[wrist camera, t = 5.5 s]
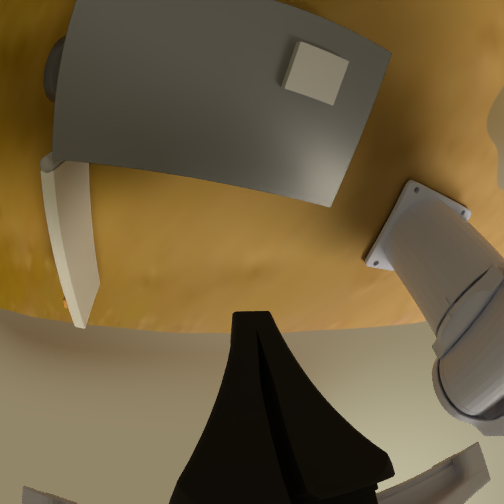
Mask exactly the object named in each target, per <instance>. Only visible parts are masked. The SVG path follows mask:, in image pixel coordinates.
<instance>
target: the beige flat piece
mask: <svg viewBox="0 0 504 504" xmlns="http://www.w3.org/2000/svg"><path fill="white" fill-rule="evenodd" d="M40 167H41V169H42V170H41V171H40V172H41V182H42V191H43V199H44V206H45V213H46V219H47V225H48V230H49V236H50V240H51V245H52V250H53V254H54V258H55V263H56V267H57V270H58V274H59V278H60V282H61V285H62V289H63V292H64V295H65V296H64V299H63V302H64V305H65V308H69V311H70V314H71V317H72V320H73V322H74V325H75V327H79V328H84V329H85V327H86V324H87V321H88V318H89V314H90V311H91V308H92V305H93V303H94V300H95V297H96V294H97V291H98V288H99V286H100V280H99V274H98V268H97V261H96V254H95V246H94V238H93V228H92V217H91V204H90V183H89V163H85V162H75V161H64V160H52V151H51V152H50V153H49V154H47V155H46V156H44V157H43V158H42V159H41V161H40Z"/></svg>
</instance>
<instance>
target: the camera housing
mask: <svg viewBox="0 0 504 504" xmlns="http://www.w3.org/2000/svg"><path fill="white" fill-rule="evenodd" d="M391 55H392V53H391V52H390V51H388V50H386V49H385V48H383V47H381V46H379V45H378V44H376V43H374V42H372V41H370V40H369V39H367V38H365V37H363V36H361V35H359V34H357V33H355V32H353V31H351V30H349V29H347V28H345V27H343V26H341V25H338V24H336V23H334V22H332V21H329V20H327V19H325V18H322V17H320V16H317V15H315V14H312V13H310V12H307V11H305V10H302V9H299V8H296V7H293V6H290V5H287V4H284V3H281V2H278V1H275V0H76V3H75V6H74V10H73V13H72V16H71V20H70V23H69V27H68V31H67V35H66V36H64V37H62V38H61V39H60V40H58V42H57V43H56V44H55V45H54V47H53V48H52V50H51V52H50V54H49V57H48V59H47V62H46V66H45V71H44V88H45V93H46V95H47V97H48V99H49V100H50V101H51V102H54V103H55V108H54V120H53V139H52V160H64V161H75V162H85V163H94V164H103V165H111V166H119V167H127V168H134V169H141V170H148V171H155V172H161V173H168V174H174V175H180V176H186V177H191V178H197V179H203V180H208V181H214V182H219V183H224V184H229V185H234V186H239V187H244V188H249V189H254V190H258V191H263V192H267V193H272V194H276V195H281V196H285V197H289V198H294V199H298V200H302V201H306V202H310V203H314V204H318V205H322V206H326V207H331V205H332V203H333V200H334V198H335V196H336V194H337V191H338V189H339V187H340V185H341V182H342V180H343V178H344V175H345V173H346V171H347V168H348V166H349V164H350V161H351V159H352V157H353V154H354V152H355V149H356V147H357V145H358V142H359V140H360V137H361V135H362V132H363V130H364V127H365V125H366V122H367V120H368V117H369V115H370V112H371V109H372V107H373V104H374V102H375V99H376V96H377V94H378V91H379V88H380V86H381V83H382V80H383V77H384V75H385V72H386V69H387V66H388V63H389V60H390V57H391Z"/></svg>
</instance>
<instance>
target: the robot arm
mask: <svg viewBox="0 0 504 504" xmlns="http://www.w3.org/2000/svg"><path fill="white" fill-rule="evenodd" d="M416 187H417V188H416ZM415 188H416V190H415ZM470 216H471V211H470V210H469V209H467V208H466V207H464V206H462V205H460V204H459V203H457V202H455V201H453V200H451V199H449V198H448V197H446V196H444V195H442V194H440V193H438V192H436V191H434V190H432V189H430V188H428V187H426V186H424V185H422V184H420V183H418V182H416V181H414V180H409V181H408V182H407V183H406V185H405V187H404V189H403V191H402V193H401V195H400V197H399V199H398V201H397V203H396V205H395V207H394V209H393V210H392V212H391V214H390V216H389V218H388V220H387V222H386V224H385V225H384V227H383V229H382V231H381V233H380V234H379V236H378V238H377V240H376V242H375V243H374V245H373V247H372V249H371V250H370V252H369V254H368V255H367V257H366V259H365V264H366V265H367V266H368V267H373V268H379V269H385V270H391V271H395V272H396V273H397V275H398V276H399V278H400V279H401V281H402V282H403V284H404V285H405V287H406V288H407V290H408V291H409V293H410V294H411V296H412V297H413V299H414V300H415V302H416V304H417V305H418V307H419V308H420V310H421V312H422V313H423V315H424V317H425V318H426V320H427V322H428V323H429V325H430V327H431V328H432V330H433V332H434V334H435V335H436V337H437V339H436V341H435V343H434V344H433V345H432V348H433V350H434V352H435V354H436V356H437V358H436V360H435V362H434V365H433V370H432V381H433V386H434V390H435V393H436V395H437V397H438V399H439V401H440V403H441V405H442V406H443V407H444V409H445V410H446V411H447V412H448V413H449V414H450V415H452V416H453V417H455V418H456V419H458V420H461V421H464V422H468V423H470V424H472V425H474V426H475V427H476V428H477V429H478V430H479V431H480V432H481V433H482V434H483V435H484V436H504V259H503V257H502V256H501V255H500V254H499V253H498V251H497V250H496V249H495V248H494V247H493V246H492V245H491V244H490V243H489V242H488V241H487V240H486V239H485V238H484V237H483V236H482V235H481V234H480V233H479V232H478V231H477V230H476V229H475V228H474V227H473V226H472V225H471V224H470V223H469V222H468V219H469V218H470ZM375 261H376V262H375ZM394 475H395V472H394V469H393V466H392V463H391V461H390V458H389V456H388V454H387V453H386V452H385V451H383V450H382V449H380V448H379V447H377V446H376V445H375V444H373V443H372V442H371V441H369V440H368V439H367V438H366V437H364V436H363V435H362V434H361V433H360V432H358V431H357V430H356V429H355V428H354V427H353V426H351V425H350V424H349V423H348V422H347V421H346V420H345V419H344V418H343V417H342V416H341V415H340V414H339V413H338V412H337V411H336V410H335V409H334V408H333V407H332V406H331V405H330V403H329V402H327V400H326V399H325V398H324V397H323V396H322V395H321V393H320V392H319V391H318V390H317V388H316V387H315V386H314V385H313V383H312V382H311V381H310V379H309V378H308V376H307V375H306V374H305V372H304V371H303V369H302V368H301V367H300V365H299V363H298V362H297V360H296V359H295V357H294V356H293V354H292V352H291V351H290V349H289V348H288V346H287V344H286V342H285V341H284V339H283V337H282V335H281V333H280V331H279V330H278V328H277V326H276V324H275V322H274V319H273V317H272V315H271V313H270V312H269V311H241V312H234V313H233V316H232V328H231V347H230V352H229V357H228V362H227V366H226V369H225V373H224V376H223V380H222V384H221V387H220V390H219V393H218V396H217V399H216V401H215V404H214V407H213V409H212V412H211V415H210V417H209V419H208V422H207V424H206V427H205V429H204V431H203V433H202V436H201V438H200V440H199V442H198V444H197V446H196V448H195V450H194V452H193V454H192V456H191V458H190V460H189V462H188V463H187V465H186V467H185V469H184V470H183V472H182V474H181V476H180V477H179V479H178V481H177V484H176V486H175V489H174V491H173V494H172V496H171V499H170V502H169V504H464V503H465V502H466V501H467V500H468V499H469V498H470V497H472V496H473V495H474V494H475V493H476V492H477V491H478V490H479V489H481V488H482V487H483V486H484V485H485V484H487V483H488V482H489V481H490V476H489V473H488V469H487V466H486V463H485V460H484V457H483V454H482V451H481V448H480V445H479V442H476V443H475V444H473V445H471V446H469V447H468V448H466V449H465V450H463V451H461V452H459V453H457V454H454V455H453V456H451V457H449V458H447V459H445V460H443V461H442V462H440V463H438V464H436V465H434V466H433V467H432V468H431V469H429V470H427V471H426V472H423V473H421V474H420V475H417V476H416V477H414V478H411V479H409V480H407V481H405V482H403V483H400V484H398V485H396V486H393V487H391V488H389V489H386V490H384V491H381V492H379V493H376V492H375V490H377V489H378V486H377V483H378V482H381V481H384V480H386V479H388V478H391V477H393V476H394ZM22 504H77V503H76V502H73V501H70V500H67V499H64V498H61V497H59V496H56V495H53V494H49V493H44V492H41V491H38V490H35V489H33V488H30V487H26V486H23V494H22Z"/></svg>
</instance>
